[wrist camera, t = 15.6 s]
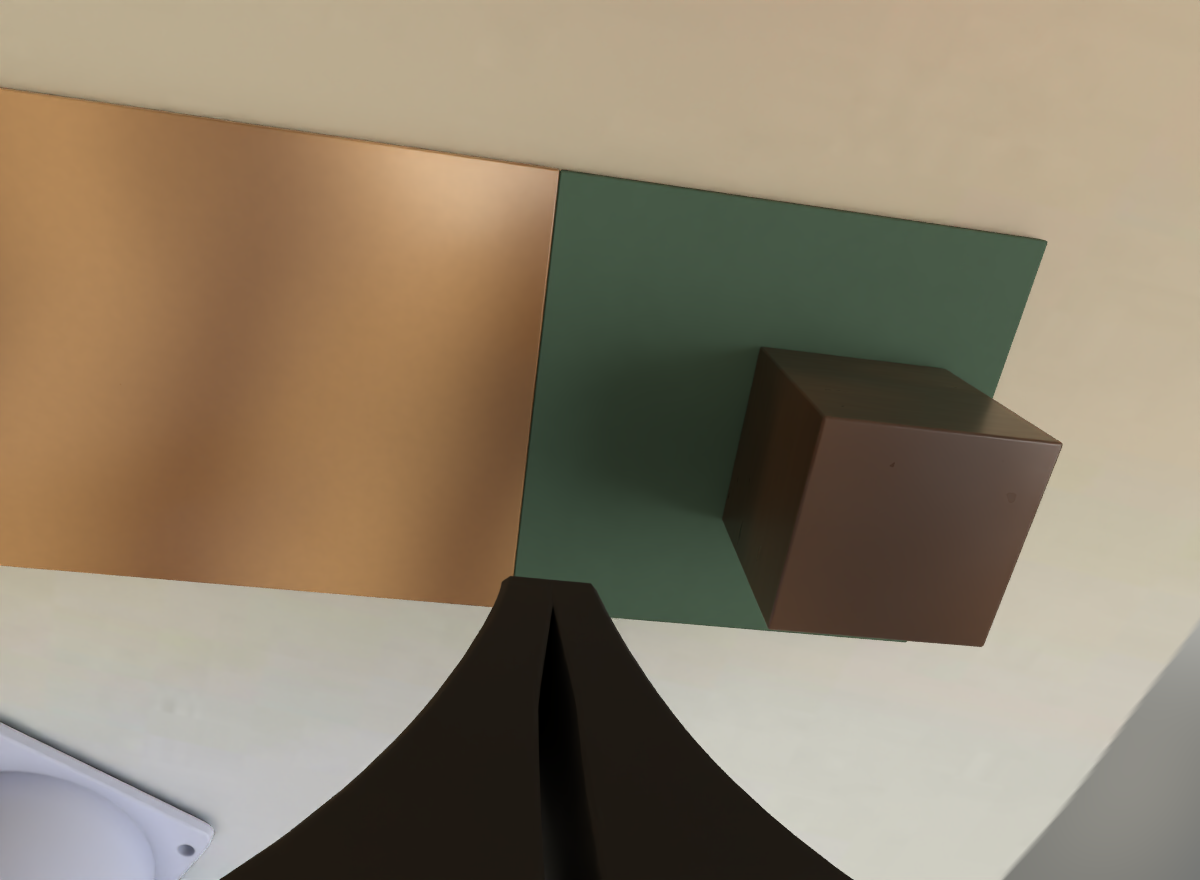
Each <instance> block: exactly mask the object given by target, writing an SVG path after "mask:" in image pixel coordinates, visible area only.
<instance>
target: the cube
mask: <svg viewBox="0 0 1200 880" xmlns="http://www.w3.org/2000/svg"><path fill="white" fill-rule="evenodd" d="M1061 448H1062V443H1061V442H1060V441H1058V440H1056V439H1055V438H1053V437H1052V436H1050V435H1049V434H1047V433H1045V432H1044V431H1042V430H1041V429H1039V428H1038V427H1036V426H1034V425H1033V424H1031V423H1030V422H1028V421H1027V420H1025V419H1023V418H1022V417H1020V416H1019V415H1017V414H1016V413H1014V412H1012V411H1011V410H1009V409H1008V408H1006V407H1005V406H1003V405H1001V404H1000V403H998V402H997V401H995V400H994V399H992V398H990V397H989V396H987V395H986V394H984V393H983V392H981V391H980V390H978V389H976V388H975V387H973V386H972V385H970V384H969V383H967V382H965V381H964V380H962V379H961V378H959V377H958V376H956V375H954V374H953V373H951V372H950V371H948V370H947V369H943V368H935V367H926V366H918V365H910V364H902V363H893V362H885V361H877V360H868V359H860V358H852V357H843V356H835V355H827V354H819V353H810V352H802V351H794V350H785V349H777V348H769V347H761V348H760V351H759V355H758V360H757V364H756V369H755V373H754V378H753V382H752V387H751V391H750V396H749V400H748V405H747V409H746V414H745V418H744V423H743V427H742V432H741V436H740V441H739V445H738V450H737V454H736V459H735V463H734V468H733V472H732V477H731V481H730V486H729V490H728V495H727V499H726V504H725V508H724V513H723V517H722V521H723V523H724V525H725V528H726V530H727V532H728V535H729V537H730V540H731V542H732V544H733V547H734V549H735V551H736V554H737V556H738V559H739V561H740V563H741V566H742V568H743V570H744V573H745V575H746V578H747V580H748V582H749V585H750V587H751V589H752V592H753V594H754V597H755V599H756V601H757V604H758V606H759V608H760V611H761V613H762V616H763V618H764V620H765V623H766V625H767V627H768V629H770V630H780V631H792V632H805V633H817V634H829V635H842V636H854V637H866V638H878V639H891V640H903V641H915V642H928V643H940V644H952V645H965V646H977V647H982V646H983V645H984V643H985V641H986V638H987V635H988V633H989V630H990V628H991V625H992V623H993V620H994V618H995V615H996V613H997V610H998V608H999V605H1000V603H1001V600H1002V597H1003V595H1004V592H1005V590H1006V587H1007V585H1008V582H1009V580H1010V577H1011V575H1012V572H1013V570H1014V567H1015V565H1016V562H1017V559H1018V557H1019V554H1020V552H1021V549H1022V547H1023V544H1024V542H1025V539H1026V537H1027V534H1028V532H1029V529H1030V527H1031V524H1032V522H1033V519H1034V516H1035V514H1036V511H1037V509H1038V506H1039V504H1040V501H1041V499H1042V496H1043V494H1044V491H1045V489H1046V486H1047V484H1048V481H1049V478H1050V476H1051V473H1052V471H1053V468H1054V466H1055V463H1056V461H1057V458H1058V456H1059V453H1060V451H1061Z"/></svg>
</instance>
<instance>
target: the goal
mask: <svg viewBox="0 0 1200 880" xmlns="http://www.w3.org/2000/svg"><path fill="white" fill-rule="evenodd" d="M1046 245H1047V241H1045V240H1041V239H1036V238H1029V237H1022V236H1015V235H1008V234H1001V233H995V232H988V231H981V230H974V229H967V228H960V227H953V226H946V225H940V224H933V223H926V222H919V221H912V220H905V219H898V218H891V217H884V216H878V215H871V214H864V213H857V212H850V211H843V210H836V209H829V208H823V207H816V206H809V205H802V204H795V203H788V202H781V201H774V200H767V199H761V198H754V197H747V196H740V195H733V194H726V193H719V192H712V191H706V190H699V189H692V188H685V187H678V186H671V185H664V184H657V183H650V182H644V181H637V180H630V179H623V178H616V177H609V176H602V175H595V174H589V173H582V172H575V171H568V170H561V171H560V176H559V185H558V193H557V202H556V211H555V220H554V228H553V237H552V246H551V255H550V263H549V272H548V281H547V290H546V298H545V307H544V316H543V324H542V333H541V342H540V351H539V359H538V368H537V377H536V386H535V394H534V403H533V412H532V421H531V429H530V438H529V447H528V455H527V464H526V473H525V482H524V490H523V499H522V508H521V517H520V525H519V534H518V543H517V552H516V560H515V569H514V576H518V577H529V578H540V579H551V580H562V581H572V582H583V583H591V584H592V585H593V586H594V588H595V589H596V590H597V592H598V594H599V596H600V598H601V600H602V602H603V604H604V606H605V608H606V610H607V612H608V614H609V616H610V617H611V618H623V619H635V620H647V621H659V622H671V623H682V624H694V625H706V626H718V627H730V628H742V629H754V630H765V631H777V632H789V633H801V634H813V635H825V636H836V637H848V638H860V639H872V640H884V641H896V642H907V641H903V640H891V639H878V638H866V637H854V636H842V635H829V634H817V633H805V632H792V631H780V630H770V629H768V627H767V625H766V623H765V620H764V618H763V616H762V613H761V611H760V608H759V606H758V604H757V601H756V599H755V597H754V594H753V592H752V589H751V587H750V585H749V582H748V580H747V578H746V575H745V573H744V570H743V568H742V566H741V563H740V561H739V559H738V556H737V554H736V551H735V549H734V547H733V544H732V542H731V540H730V537H729V535H728V532H727V530H726V528H725V525H724V523H723V521H722V517H723V513H724V508H725V504H726V499H727V495H728V490H729V486H730V481H731V477H732V472H733V468H734V463H735V459H736V454H737V450H738V445H739V441H740V436H741V432H742V427H743V423H744V418H745V414H746V409H747V405H748V400H749V396H750V391H751V387H752V382H753V378H754V373H755V369H756V364H757V360H758V355H759V351H760V348H761V347H769V348H777V349H785V350H794V351H802V352H810V353H819V354H827V355H835V356H843V357H852V358H860V359H868V360H877V361H885V362H893V363H902V364H910V365H918V366H926V367H935V368H943V369H947V370H948V371H950V372H951V373H953V374H954V375H956V376H958V377H959V378H961V379H962V380H964V381H965V382H967V383H969V384H970V385H972V386H973V387H975V388H976V389H978V390H980V391H981V392H983V393H984V394H986V395H987V396H989V397H990V398H993V396H994V393H995V390H996V387H997V384H998V381H999V379H1000V376H1001V373H1002V370H1003V367H1004V364H1005V361H1006V359H1007V356H1008V353H1009V350H1010V347H1011V344H1012V342H1013V339H1014V336H1015V333H1016V330H1017V327H1018V325H1019V322H1020V319H1021V316H1022V313H1023V310H1024V308H1025V305H1026V302H1027V299H1028V296H1029V293H1030V291H1031V288H1032V285H1033V282H1034V279H1035V276H1036V274H1037V271H1038V268H1039V265H1040V262H1041V259H1042V257H1043V254H1044V251H1045V248H1046Z"/></svg>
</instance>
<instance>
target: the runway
mask: <svg viewBox="0 0 1200 880" xmlns="http://www.w3.org/2000/svg"><path fill="white" fill-rule="evenodd" d="M559 173H560V171H559V169H558V168H552V167H545V166H538V165H531V164H524V163H517V162H510V161H503V160H496V159H490V158H483V157H476V156H469V155H462V154H455V153H448V152H441V151H435V150H428V149H421V148H414V147H407V146H400V145H393V144H386V143H380V142H373V141H366V140H359V139H352V138H345V137H338V136H331V135H325V134H318V133H311V132H304V131H297V130H290V129H283V128H276V127H269V126H263V125H256V124H249V123H242V122H235V121H228V120H221V119H214V118H208V117H201V116H194V115H187V114H180V113H173V112H166V111H159V110H153V109H146V108H139V107H132V106H125V105H118V104H111V103H104V102H98V101H91V100H84V99H77V98H70V97H63V96H56V95H49V94H43V93H36V92H29V91H22V90H15V89H8V88H1V87H0V566H12V567H24V568H36V569H48V570H60V571H71V572H83V573H95V574H107V575H119V576H131V577H142V578H154V579H166V580H178V581H190V582H202V583H213V584H225V585H237V586H249V587H261V588H273V589H284V590H296V591H308V592H320V593H332V594H344V595H356V596H367V597H379V598H391V599H403V600H415V601H427V602H438V603H450V604H462V605H474V606H486V607H493V606H494V603H495V601H496V599H497V596H498V594H499V591H500V588H501V583H502V581H503V580H505V579H506V578H508V577H509V576H514V567H515V558H516V549H517V541H518V532H519V523H520V514H521V506H522V497H523V488H524V479H525V471H526V462H527V453H528V444H529V436H530V427H531V418H532V410H533V401H534V392H535V383H536V375H537V366H538V357H539V348H540V340H541V331H542V322H543V313H544V305H545V296H546V287H547V278H548V270H549V261H550V252H551V243H552V235H553V226H554V217H555V208H556V200H557V191H558V182H559Z"/></svg>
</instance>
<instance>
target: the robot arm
mask: <svg viewBox="0 0 1200 880" xmlns="http://www.w3.org/2000/svg"><path fill="white" fill-rule="evenodd" d="M213 837H214V830H213V828H212V827H211V825H209V824H208V823H206V822H204V821H202V820H200V819H198V818H196V817H194V816H192V815H190V814H188V813H186V812H184V811H182V810H180V809H178V808H175V807H173V806H171V805H169V804H167V803H165V802H163V801H161V800H159V799H157V798H155V797H153V796H151V795H149V794H147V793H145V792H143V791H141V790H139V789H137V788H134V787H132V786H130V785H128V784H126V783H124V782H122V781H120V780H118V779H116V778H114V777H112V776H110V775H108V774H106V773H104V772H102V771H100V770H98V769H95V768H93V767H91V766H89V765H87V764H85V763H83V762H81V761H79V760H77V759H75V758H73V757H71V756H69V755H67V754H65V753H63V752H61V751H59V750H56V749H54V748H52V747H50V746H48V745H46V744H44V743H42V742H40V741H38V740H36V739H34V738H32V737H30V736H28V735H26V734H24V733H22V732H20V731H17V730H15V729H13V728H11V727H9V726H7V725H5V724H3V723H1V722H0V880H179V879H180V878H181V877H182V876H183V875H184V874H185V872H186V871H187V870H188V869H189V868H190V867H191V866H192V865H193V864H194V862H195V861H196V860H197V859H198V858H199V857H200V856H201V855H202V854H203V852H204V851H205V850H206V849H207V848H208V847H209V845H210V843H211V841H212V839H213ZM220 880H853V879H852V878H850V877H849V876H847V875H846V874H844V873H843V872H842V871H840V870H839V869H838V868H836V867H835V866H833V865H832V864H831V863H830V862H828V861H827V860H826V859H824V858H823V857H822V856H821V855H819V854H818V853H817V852H815V851H814V850H813V849H812V848H810V847H809V846H808V845H806V844H805V843H804V842H803V841H801V840H800V839H799V838H797V837H796V836H795V835H794V834H793V833H791V832H790V831H789V830H788V829H787V828H785V827H784V826H783V825H782V824H781V823H779V822H778V821H777V820H776V819H775V818H774V817H772V816H771V815H770V814H769V813H768V812H767V811H765V810H764V809H763V808H762V807H761V806H760V805H759V804H758V803H757V802H756V801H755V800H754V799H752V798H751V797H750V796H749V795H748V794H747V793H746V792H745V791H744V790H743V789H742V788H741V787H740V786H738V785H737V784H736V783H735V782H734V781H733V780H732V779H731V778H730V777H729V776H728V775H727V774H726V773H725V772H724V771H723V770H722V769H721V768H720V767H719V766H718V765H717V764H716V763H715V762H714V761H713V760H712V759H711V757H710V756H709V755H708V754H707V753H706V752H705V751H704V750H703V749H702V747H701V746H700V745H699V744H698V743H697V742H696V741H695V740H694V739H693V737H692V736H691V735H690V734H689V733H688V731H687V730H686V729H685V728H684V727H683V725H682V724H681V723H680V722H679V720H678V719H677V718H676V717H675V715H674V714H673V713H672V711H671V710H670V709H669V707H668V706H667V705H666V703H665V702H664V701H663V699H662V698H661V697H660V695H659V694H658V693H657V691H656V690H655V688H654V687H653V685H652V684H651V683H650V681H649V680H648V678H647V677H646V675H645V674H644V672H643V671H642V669H641V668H640V666H639V664H638V663H637V661H636V660H635V658H634V657H633V655H632V654H631V652H630V651H629V649H628V647H627V646H626V644H625V642H624V641H623V639H622V637H621V636H620V634H619V632H618V630H617V629H616V627H615V625H614V623H613V622H612V620H611V618H610V616H609V614H608V612H607V610H606V608H605V606H604V604H603V602H602V600H601V598H600V596H599V594H598V592H597V590H596V589H595V588H594V586H593V585H592V584H591V583H583V582H572V581H562V580H551V579H540V578H529V577H518V576H509V577H508V578H506V579H505V580H503V581H502V583H501V588H500V591H499V594H498V596H497V599H496V601H495V603H494V606H493V608H492V610H491V612H490V613H489V615H488V617H487V619H486V621H485V623H484V625H483V626H482V628H481V630H480V631H479V633H478V634H477V636H476V638H475V639H474V641H473V642H472V644H471V646H470V647H469V649H468V650H467V652H466V654H465V655H464V657H463V658H462V659H461V661H460V662H459V664H458V665H457V666H456V668H455V669H454V670H453V672H452V673H451V674H450V676H449V677H448V678H447V680H446V681H445V682H444V684H443V685H442V686H441V688H440V689H439V690H438V692H437V693H436V694H435V695H434V697H433V698H432V699H431V700H430V701H429V703H428V704H427V705H426V706H425V707H424V709H423V710H422V711H421V712H420V713H419V714H418V716H417V717H416V718H415V719H414V720H413V721H412V722H411V723H410V724H409V725H408V727H407V728H406V729H405V730H404V731H403V732H402V733H401V734H400V735H399V736H398V737H397V738H396V739H395V740H394V741H393V742H392V743H391V744H390V745H389V746H388V747H387V748H386V749H385V750H384V751H383V752H382V753H381V754H380V755H379V756H378V757H377V758H376V759H375V760H374V761H373V762H372V763H371V764H370V765H369V766H368V767H367V768H366V769H365V770H364V771H362V772H361V773H360V774H359V775H358V776H357V777H356V778H355V779H354V780H352V781H351V782H350V783H349V784H348V785H347V786H346V787H344V788H343V789H342V790H341V791H340V792H338V793H337V794H336V795H335V796H333V797H332V798H331V799H330V800H328V801H327V802H326V803H325V804H323V805H322V806H321V807H320V808H318V809H317V810H316V811H315V812H313V813H312V814H311V815H310V816H308V817H307V818H306V819H305V820H303V821H302V822H301V823H300V824H298V825H297V826H296V827H295V828H293V829H292V830H291V831H290V832H288V833H287V834H285V835H284V836H283V837H281V838H280V839H279V840H277V841H276V842H275V843H273V844H272V845H270V846H269V847H267V848H266V849H264V850H263V851H261V852H260V853H258V854H257V855H255V856H254V857H252V858H251V859H249V860H248V861H246V862H245V863H243V864H242V865H240V866H239V867H237V868H236V869H235V870H233V871H232V872H230V873H229V874H227V875H226V876H224V877H223V878H221V879H220Z"/></svg>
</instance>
